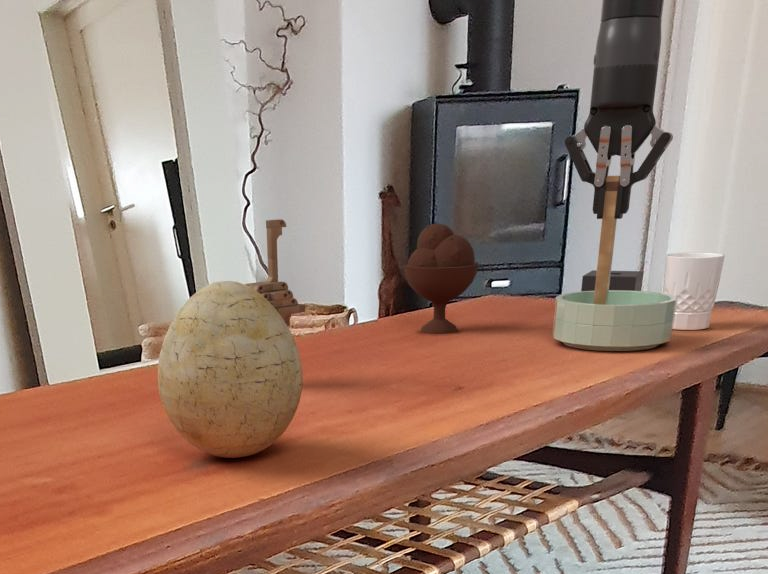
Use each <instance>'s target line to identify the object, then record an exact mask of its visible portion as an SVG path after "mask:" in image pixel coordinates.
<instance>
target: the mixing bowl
mask: <svg viewBox="0 0 768 574" xmlns="http://www.w3.org/2000/svg"><path fill="white" fill-rule="evenodd" d="M594 292H595V291H581V290H580V291H573V292H572V291H571V292H566V293H565V292H564V293H561V294H559V295H557V296H555V300H554V312H553V322H552V323H553V324H552V332H551V336H552V338H553V339H554V340H556V341H559V342H561V343H562V344H563V345H565V346H567V347H570V348H574V349H579V350H587V351H596V352H597V351H600V352H634V351H645V350H651V349H654V348H657V347H659V345H661V344H664V343H667V342H670V341H671V340H672V338H673V334H674V333H673V332H674V329H673V327H674V320H675V313H676V306H677V299H678V298H677V297H675V296H673V295H669V294H664V293H663V292H655V291H647V290H646V291H645V290H641V291H628V290H609V293H608V302H607V304H593V301H594Z"/></svg>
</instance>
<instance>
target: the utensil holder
mask: <svg viewBox="0 0 768 574" xmlns="http://www.w3.org/2000/svg"><path fill="white" fill-rule="evenodd" d="M596 273H597V269H596V270H590V271H589V272H587V273H585V274H584V275H582V279H581V287H580V288H581V289H580V291H595V282H596ZM643 278H644V270H611V275H610V284H609V290H628V291H642V286H643V280H644V279H643Z"/></svg>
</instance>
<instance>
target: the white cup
mask: <svg viewBox="0 0 768 574" xmlns="http://www.w3.org/2000/svg"><path fill="white" fill-rule="evenodd" d="M725 256H726V255H725V254H723V253H719V252H695V251H694V252H675V253H674V252H673V253H667V254H666V255H665V261H664V262H665V263H664V272H663V273H664V274H663V285H662V293H664V294H669V295H673V296H675V297H677V298H678V299H677V306H676V313H675V320H674V327H673V330H677V331H699V330H705V329H708V328H710V324H711V319H712V314H713V309H714V307H715V304H716V303H715V302H716V299H717V294H718V290H719V286H720V282H721V281H720V280H721V277H722V276H721V275H722V272H723V271H722V270H723V266H724V261H725Z"/></svg>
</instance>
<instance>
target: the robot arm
mask: <svg viewBox="0 0 768 574" xmlns="http://www.w3.org/2000/svg"><path fill="white" fill-rule="evenodd" d="M664 3H665V0H602V3H601V14H600V24H599V30H598V35H597V39H596V45H595V54H594V56H593V75H592V84H591V94H590V106H589V113H588V117H587V119H586V121H585V122H584V124H583V128H582V129H581V130H578V131H577V132H576V133H575V134H573V135H569V136H567V137H566V138H565V139H564V145H565V147H566V149H567V152H568V154H569V157H570V159H571V160H572V163H573V166H574V167H575V170H576V172H577V174H578V176H579V179H580V180H581V182H583V183H588V184H591V185H592V186H593V189H594V192H593V202H592V213H593V215H596V220H602V217H603V208H604V199H605V189H606V188H605V186H606V178H607V176H609V172H610V166H611V163H612V158H613V157H614V156H617V157H618V156H619V157H620V161H619V167H620V171H619V176H620V187H618V190H617V199H616V209H615V219H617V220H620V219H623V218H624V217H623V216H624V214H625V215H626V214H628V212H629V209H630V203H631V202H630V201H631V194H632V187H633V185H634V184H636V183H638V182H641V181H644V180H646V179H647V178H648V177H649V175H650V174H651V172H652V171H653V169H654V168H655V166H656V165H657V163H658V162H659V160H660V159H661V158H662V155H663V154H664V153H665V151H666V150H667V148H668V147H669V145H670V144H671V142H672V141H673V139H674V135H673V133H672V132H669V131H667V132H666V131H665V130H664V129H663V128H661V127H659V126H657V121H656V116H655V115H654V105H655V95H656V87H657V79H658V72H659V65H660V64H659V63H660V55H661V46H662V21H663V20H662V19H663V11H664ZM650 135H651V139H650V141H649V145H650V147H651V149H650V151H649V152H648V154H647V156H646V157H645V159H644V160H643V162H641V165H640V166H639V168H638V169H637V170H636V171H634V167H635V162H636V161H635V159H636V153H637V152H638V150H639V149H640V148H641V146H642V145H643V144H644V143H645V141H646V140H647V139H648V138H649V136H650ZM587 138H588V140H589V142H590V143H591V145H592V147H593V149H594V150H595V152H596V154H597V155H596V162H595V172H594V171H593V170H592V167H591V165H590V163H589V160H588V158H587V156H586V154H585V152H584V150H585V149H586V146H587V142H586V140H587Z"/></svg>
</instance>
